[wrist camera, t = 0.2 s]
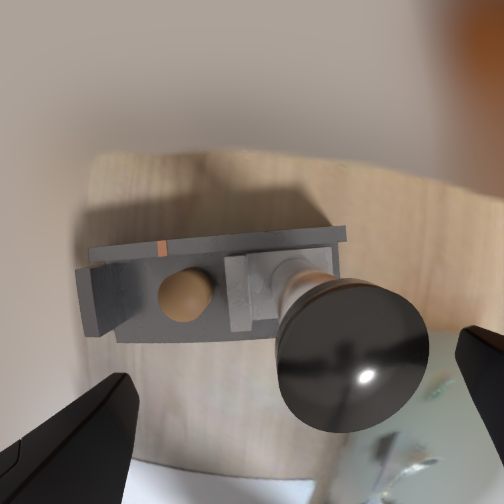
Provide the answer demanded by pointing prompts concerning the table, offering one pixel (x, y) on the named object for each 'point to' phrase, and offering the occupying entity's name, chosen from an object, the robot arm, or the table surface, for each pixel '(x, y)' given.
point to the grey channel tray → (172, 261)
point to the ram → (330, 336)
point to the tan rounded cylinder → (186, 294)
